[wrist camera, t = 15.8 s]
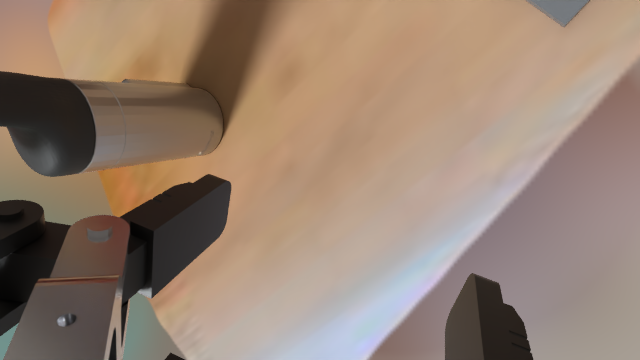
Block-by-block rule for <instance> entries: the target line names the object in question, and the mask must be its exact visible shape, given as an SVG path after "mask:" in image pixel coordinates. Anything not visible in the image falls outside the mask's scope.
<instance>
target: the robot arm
mask: <svg viewBox="0 0 640 360" xmlns="http://www.w3.org/2000/svg"><path fill="white" fill-rule="evenodd" d="M0 126H4V127H7V128H8V131H9V133H10V136H11V138H12V140H13V143H14V145H15V147H16V149H17V151H18V153H19V154H20V156H21V157H22V159H23V160H24V161H25V162H26V164H27V165H28V166H29V167H30V168H31V169H33V170H34V171H35V172H37V173H39V174H41V175H44V176H50V177H55V176H65V175H71V174H79V173H85V172H92V171H99V170H106V169H112V168H119V167H126V166H133V165H140V164H147V163H153V162H160V161H167V160H174V159H181V158H188V157H194V156H201V155H206V154H209V153H211V152H212V151H213V150H214V149H215V148H216V147H217V145H218V144H219V142H220V140H221V137H222V133H223V117H222V113H221V109H220V107H219V105H218V103H217V101H216V100H215V98H214V97H213V96H212V95H211V94H210V93H209V92H207V91H206V90H203V89H200V88H191V87H190V86H189V85H188V84H184V83H171V82H158V81H146V80H133V79H125V80H123V81H122V83H120V82H105V81H89V80H74V79H60V78H46V77H39V76H33V75H26V74H19V73H12V72H1V71H0ZM230 194H231V183H230V182H229V181H227V180H224V179H221V178H219V177H216V176H213V175H211V174H208V175H206V176H204V177H202V178H201V179H199V180H197V181H196V182H194V183H191V182H188V183H184V184H180V185H176V186H173V187H171V188H170V189H168V190H166V191H164V192H163V193H162V194H159V195H157V196H156V197H154V198H153V200H151V199H150V200H149V201H147V202H145V203H143V204H142V205H140V206H138V207H136V208H135V209H133V210H131V211H129V212H128V213H126V214H124V215H123V216H121V217H116V216H111V215H96V216H90V217H87V218H83V219H81V220H79V221H77V222H75V223H74V224H73V225H72V226H71V225H65V224H58V223H52V222H46V221H45V218H44V210H43V208H42V207H41V206H40V205H39V204H37V203H35V202H31V201H26V200H9V201H2V202H0V336H1V335H3V334H4V333H5V332H7V331H8V330H9V329H11V328H12V327H13V326H15V325H16V324H17V323H19V324H18V326H17V328H16V331H15V333H14V335H13V338H12V340H11V343H10V345H9V347H8V350H7V352H6V354H5V356H4V359H3V360H123V352H124V344H125V337H126V329H127V322H128V313H129V305H130V298H131V297H132V296H133V295H134V294H136V293H137V292H138V293H140V294H142V295H144V296H146V297H149V298H151V299H152V298H153V297H154V296H155V295H156V294H157V293H158V292H159V291H160V290H161V289H163V288H164V287H165V286H166V285H167V284H168V283H169V282H170V281H171V280H172V279H174V278H175V277H176V276H177V275H178V274H179V273H180V272H181V271H182V270H183V269H185V268H186V267H187V266H188V265H189V264H190V263H191V262H192V261H193V260H194V259H195V258H197V257H198V256H199V255H200V254H201V253H202V252H203V251H204V250H205V249H206V248H208V247H209V246H210V245H211V244H212V243H213V242H214V241H215V240H216V239H217V238H218V237H219V236H220V235H221V234H222V232H223V230H224V228H225V225H226V222H227V215H228V208H229V201H230ZM530 350H531V349H530V345H529V341H528V340H527V334H526V330H525V326H524V322H523V321H522V319H521V318H520V317H519V315H518V314H517V312H516V311H515V309H514V308H513V307H512V306H510V305H507V304H504V303H503V299H502V294H501V289H500V285H499V283H497V282H495V281H492V280H489V279H487V278H484V277H481V276H479V275H476V274H473V273H472V274H470V276H469V277H468V278H467V280H466V282H465V284H464V286H463V288H462V290H461V292H460V294H459V296H458V298H457V299H456V302H455V303H454V305H453V307H452V309H451V311H450V313H449V316H448V319H447V323H446V329H445V360H533V357H532V354H531V353H530ZM165 360H185V359H182V358H180V357H178V356H176V355H174V354H172V353H170V354H169V355H168V356H167V358H166V359H165Z"/></svg>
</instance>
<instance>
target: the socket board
mask: <svg viewBox="0 0 640 360" xmlns="http://www.w3.org/2000/svg"><path fill="white" fill-rule="evenodd" d="M526 1H527V2H529V3H530V4H532V5H533V6H534V7H536V8H537V9H539V10H540V11H542V12H543V13H544V14H546V15H547V16H549V17H550V18H551V19H553V20H554V21H556V22H557V23H559V24H560V25H561V26H563V27H565V26H566V25H567V24H568V23H569V22H570V21H571V20H572V19H573V17H574V16H575V15H576V14H577V13H578V12H579V11H580V10H581V9H582V8H583V7H584V6H585V5H586V4H587V3H588V2H589V1H590V0H526Z"/></svg>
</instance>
